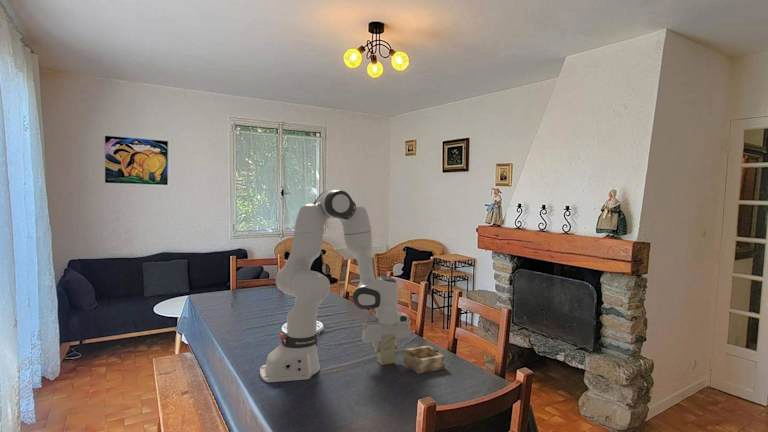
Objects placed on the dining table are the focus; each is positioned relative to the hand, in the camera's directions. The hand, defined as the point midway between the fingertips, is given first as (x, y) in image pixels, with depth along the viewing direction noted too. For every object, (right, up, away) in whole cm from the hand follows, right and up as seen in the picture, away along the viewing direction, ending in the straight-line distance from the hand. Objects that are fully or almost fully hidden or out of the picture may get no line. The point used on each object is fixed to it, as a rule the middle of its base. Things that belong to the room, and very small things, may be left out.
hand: (386, 350), depth 166 cm
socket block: (+15, -5, -2) cm, 16 cm away
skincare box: (0, -5, 0) cm, 5 cm away
